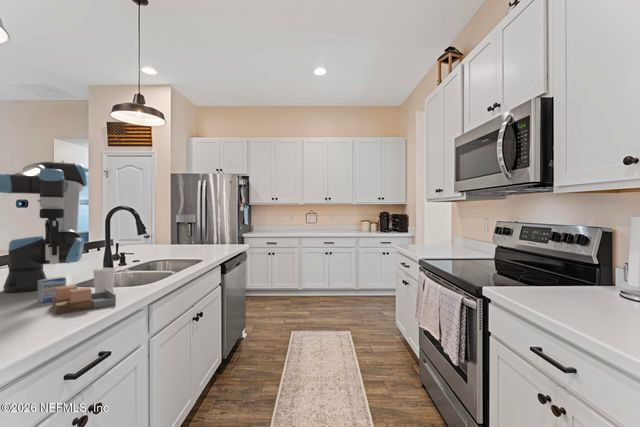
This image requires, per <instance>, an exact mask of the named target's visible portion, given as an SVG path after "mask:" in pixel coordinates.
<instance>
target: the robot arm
mask: <svg viewBox="0 0 640 427" xmlns="http://www.w3.org/2000/svg"><path fill="white" fill-rule="evenodd" d="M87 185H88V181H87V174H86V168H85V165H84V164H82V163H75V162H73V163H71V162H57V161H54V162H53V161H42V162H35V163H31V164H28V165H26V166H24V167H23V168H22V170H20V171H17V172H16V173H13V174H10V173H6V174H5V173H4V174H3V173H1V174H0V193H1V194H31V195H33V194H34V195H35V194H36V195H39V199H37V202H38V203H39V207H40V209H39V218H40V219H46V220H45V223H44V229H45V230H44V231H45V234H44V235H45V237H44V236H43V235H37V236H29V237H22V238H21V237H20V238H15V239H12V240H10V242H9V243H8V250H7V252H8V274H7V277H6V279H5V282H4V285H3V287H2V288H3V289H2V290H3V292H4V293H25V292H26V293H27V292H32V291H33V292H34V291H38V280H42V279H48V278H47V275H46V274H45V272H44V265H57V264H72V263H77V262H79V261H80V260H81V259H82V257H83V254H84V253H83V252H84V245H85V239H84V238H83V237H81V236H82V235H81V234H80V233H79V232H78V221H79V208H80V207H79V205H80V192H82V191H83V190H84V187H87Z"/></svg>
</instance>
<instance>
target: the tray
mask: <svg viewBox="0 0 640 427" xmlns="http://www.w3.org/2000/svg"><path fill="white" fill-rule="evenodd" d="M116 296H117V295H116V293H114V291H113V292H112V291H110V290H109V289H107V288H105V292H99V293H95V292H94V293H92V292H91V298H92V299H93V309H100V308H107V307H111V306H116V303H117V302H116V301H117V297H116Z"/></svg>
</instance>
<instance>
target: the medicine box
mask: <svg viewBox="0 0 640 427" xmlns="http://www.w3.org/2000/svg"><path fill="white" fill-rule="evenodd" d="M61 286H67V278H66V277H65V276H58V277H52V278H51V277H49V278H47V279H42V280H38V290H37V302H38V303H42V304H45V303H46V304H47V303H50V302H51V303H52V298H56V287H61Z"/></svg>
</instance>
